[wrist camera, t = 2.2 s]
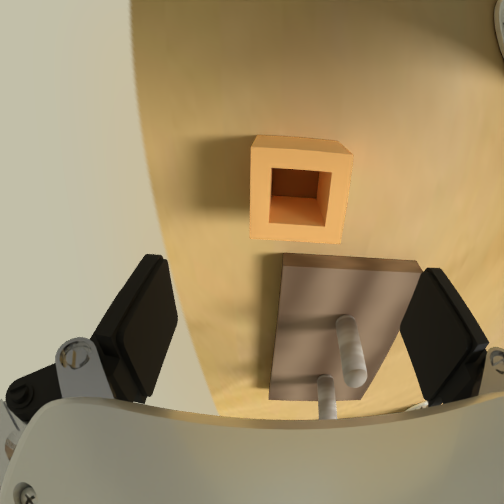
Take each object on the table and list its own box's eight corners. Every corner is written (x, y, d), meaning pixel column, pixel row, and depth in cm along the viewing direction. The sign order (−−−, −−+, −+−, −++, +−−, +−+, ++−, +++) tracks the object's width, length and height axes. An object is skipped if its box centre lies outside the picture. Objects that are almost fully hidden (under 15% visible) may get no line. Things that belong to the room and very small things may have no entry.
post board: (416, 260, 24) (456, 332, 16) (358, 388, 36) (366, 445, 28) (283, 252, 25) (282, 334, 17) (269, 387, 36) (264, 448, 28)
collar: (337, 141, 19) (353, 155, 15) (329, 213, 23) (340, 244, 18) (257, 135, 20) (250, 147, 16) (255, 208, 23) (249, 238, 19)
